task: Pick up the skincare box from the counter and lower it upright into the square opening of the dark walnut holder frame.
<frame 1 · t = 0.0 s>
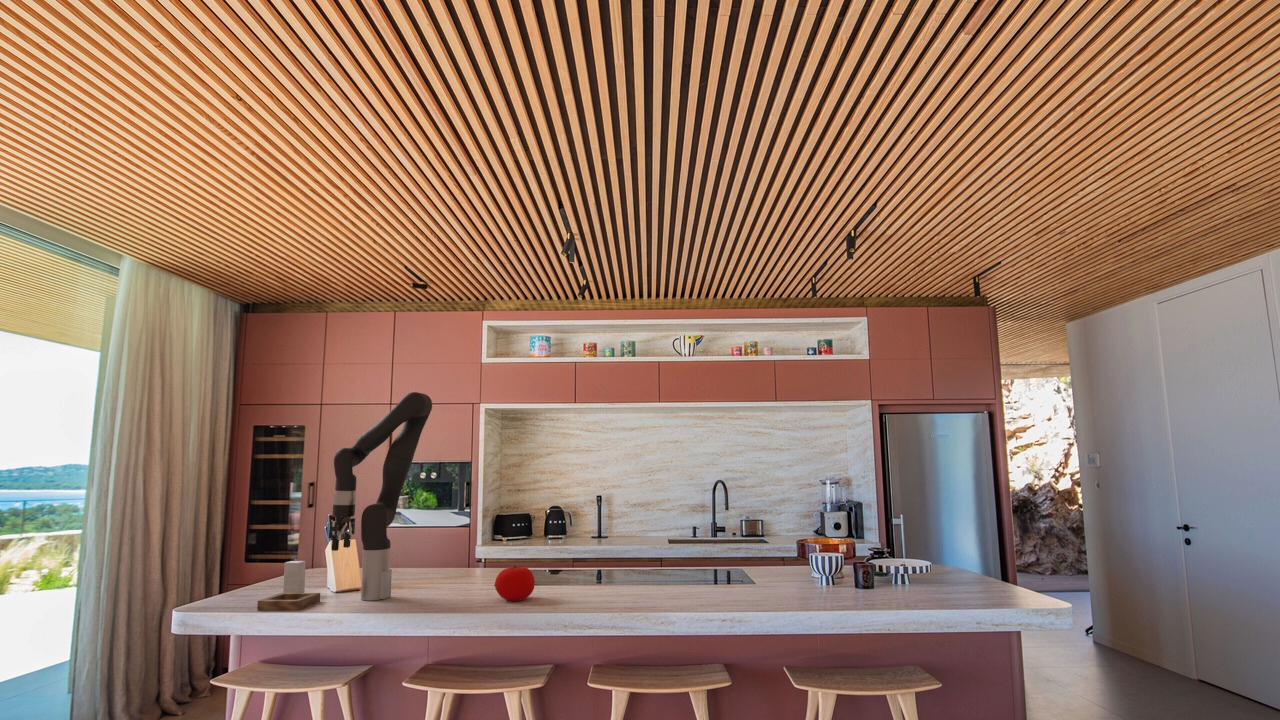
hand: (340, 548, 253), 17 cm above the countertop, tool pointing down, fingers open, 8 cm apart
tomato: (515, 600, 245), on the countertop
skincare box: (293, 595, 257), on the countertop
holder: (289, 605, 239), on the countertop
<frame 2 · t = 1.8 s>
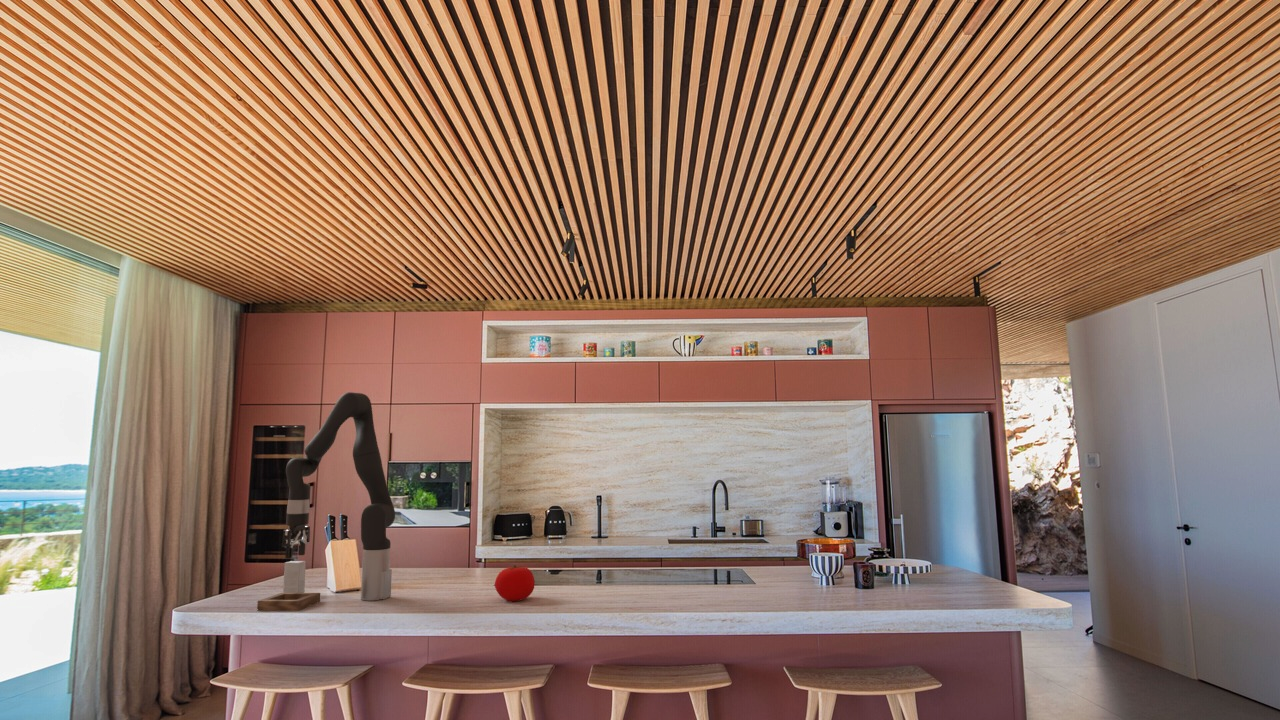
hand: (295, 556, 259), 14 cm above the countertop, tool pointing down, fingers open, 8 cm apart
nothing on the countertop moved.
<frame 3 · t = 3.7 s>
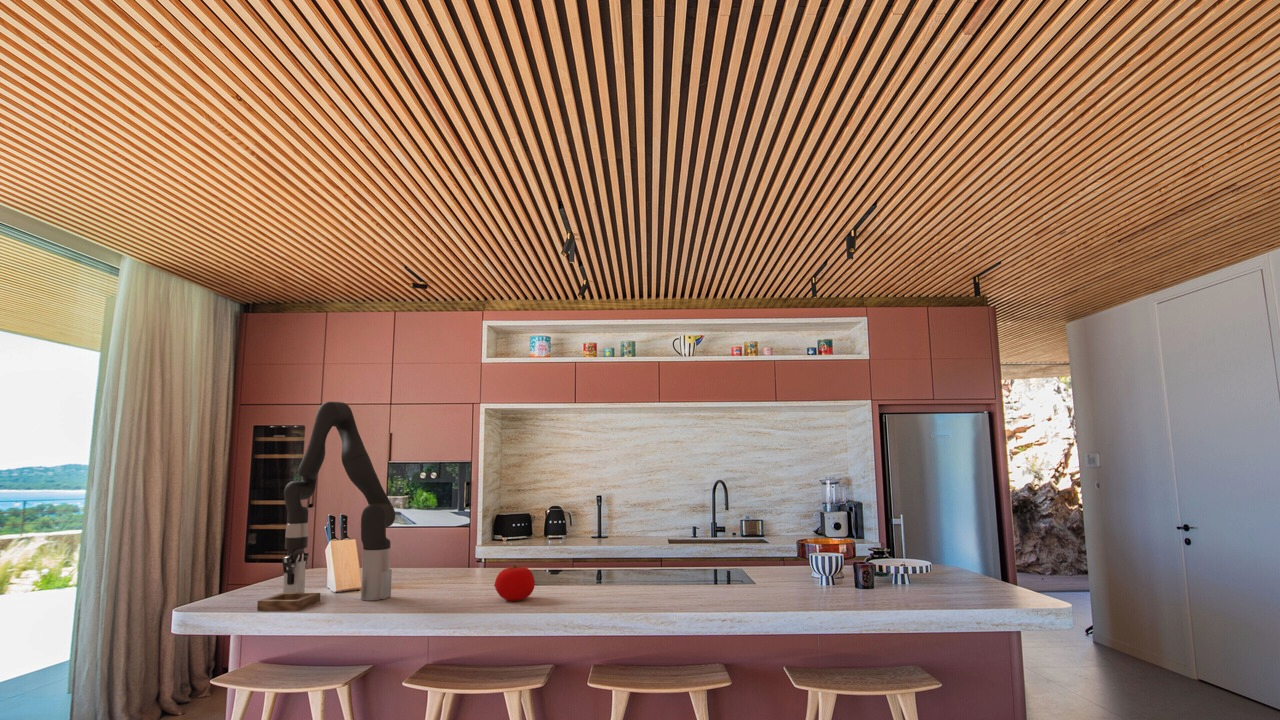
hand: (294, 583, 258), 4 cm above the countertop, tool pointing down, fingers closed on skincare box, 4 cm apart
skincare box: (293, 595, 257), on the countertop, touching gripper
everything else where it was.
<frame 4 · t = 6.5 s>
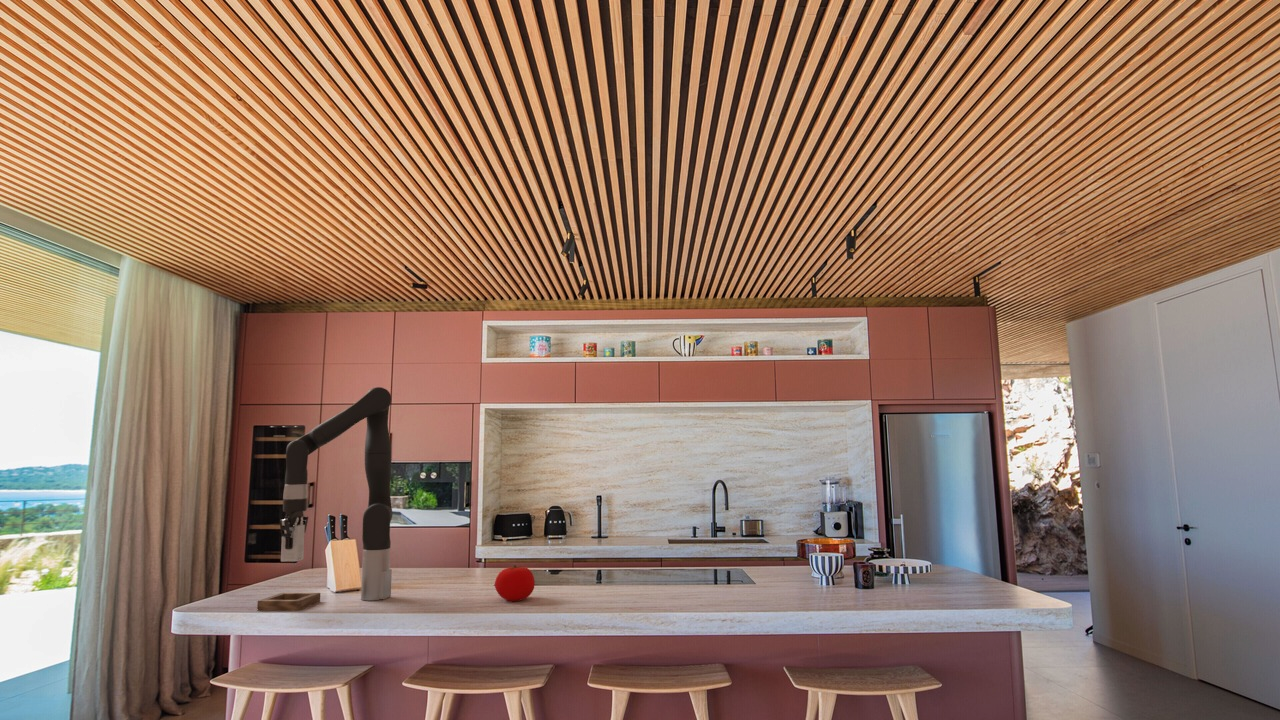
hand: (292, 547, 242), 19 cm above the countertop, tool pointing down, fingers closed on skincare box, 4 cm apart
skincare box: (292, 561, 241), point 15 cm above the countertop, touching gripper
everything else where it was.
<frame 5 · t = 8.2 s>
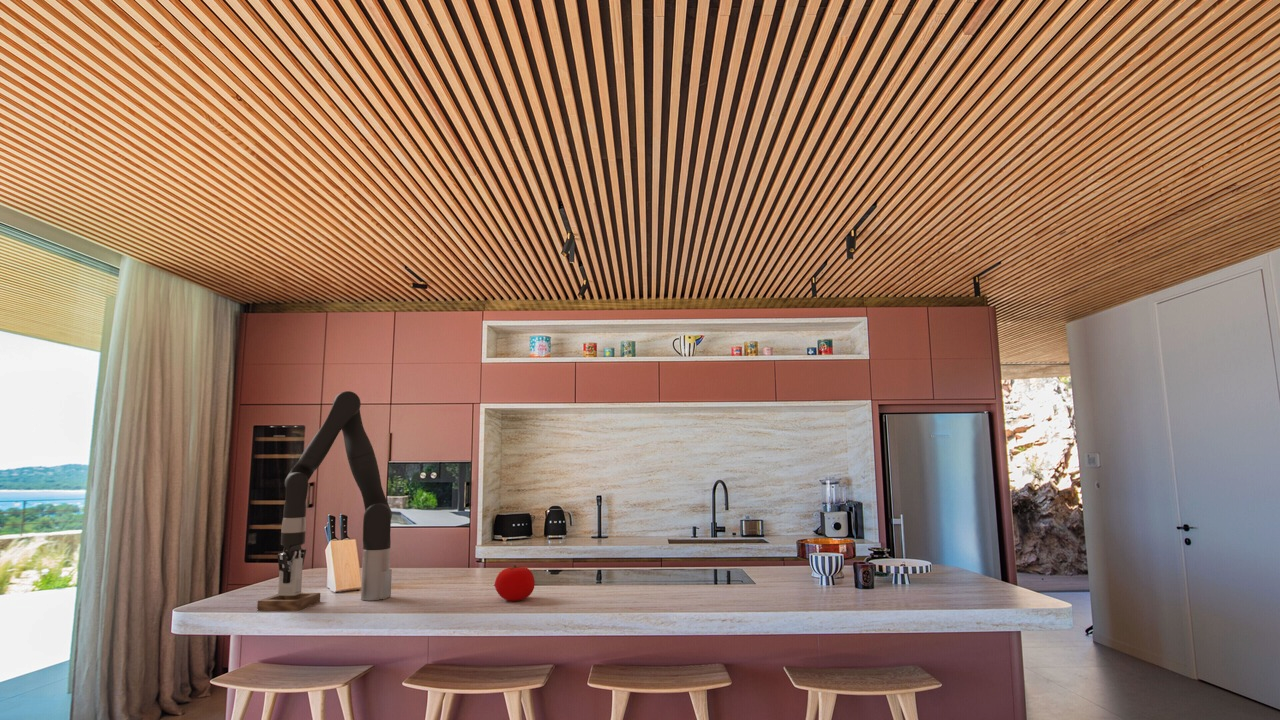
hand: (290, 581, 240), 8 cm above the countertop, tool pointing down, fingers closed on skincare box, 4 cm apart
skincare box: (289, 595, 239), point 3 cm above the countertop, touching gripper
everything else where it was.
when the fingers open (6 cm above the countertop, at t = 9.7 s): skincare box drops 1 cm, resting in holder.
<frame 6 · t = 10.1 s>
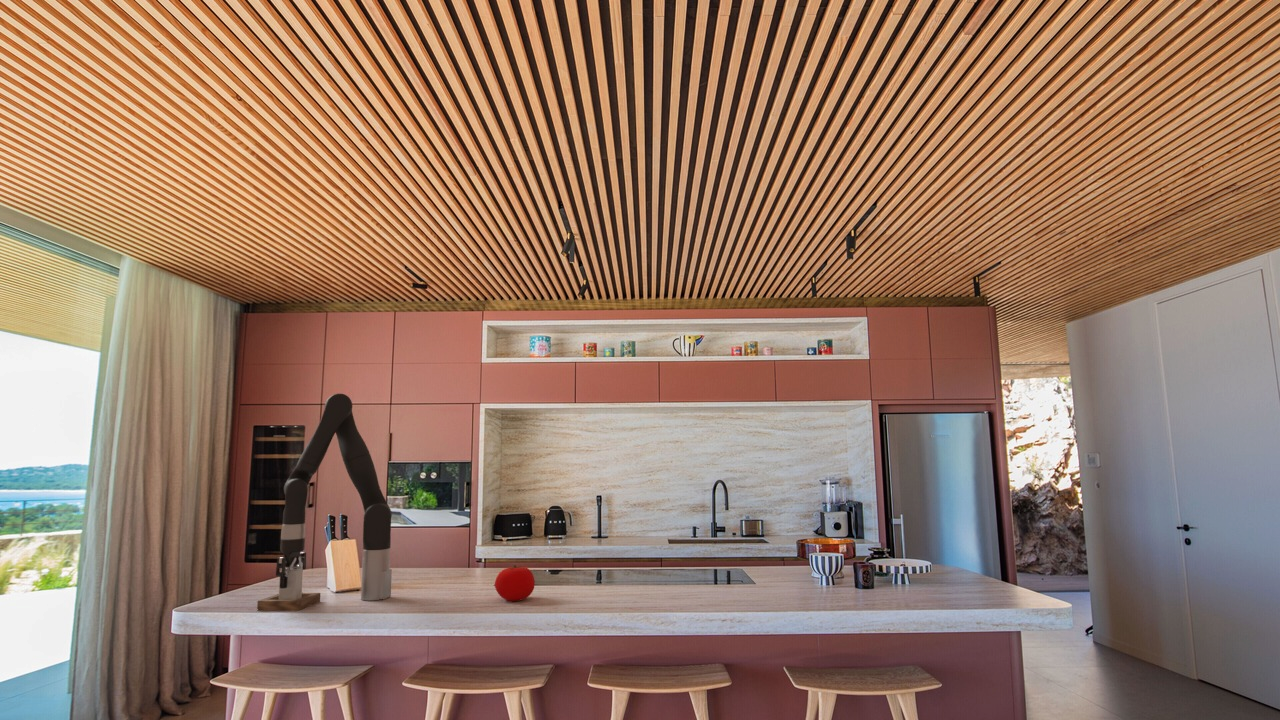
hand: (290, 585, 240), 7 cm above the countertop, tool pointing down, fingers open, 8 cm apart
skincare box: (289, 606, 239), resting in holder
everything else where it was.
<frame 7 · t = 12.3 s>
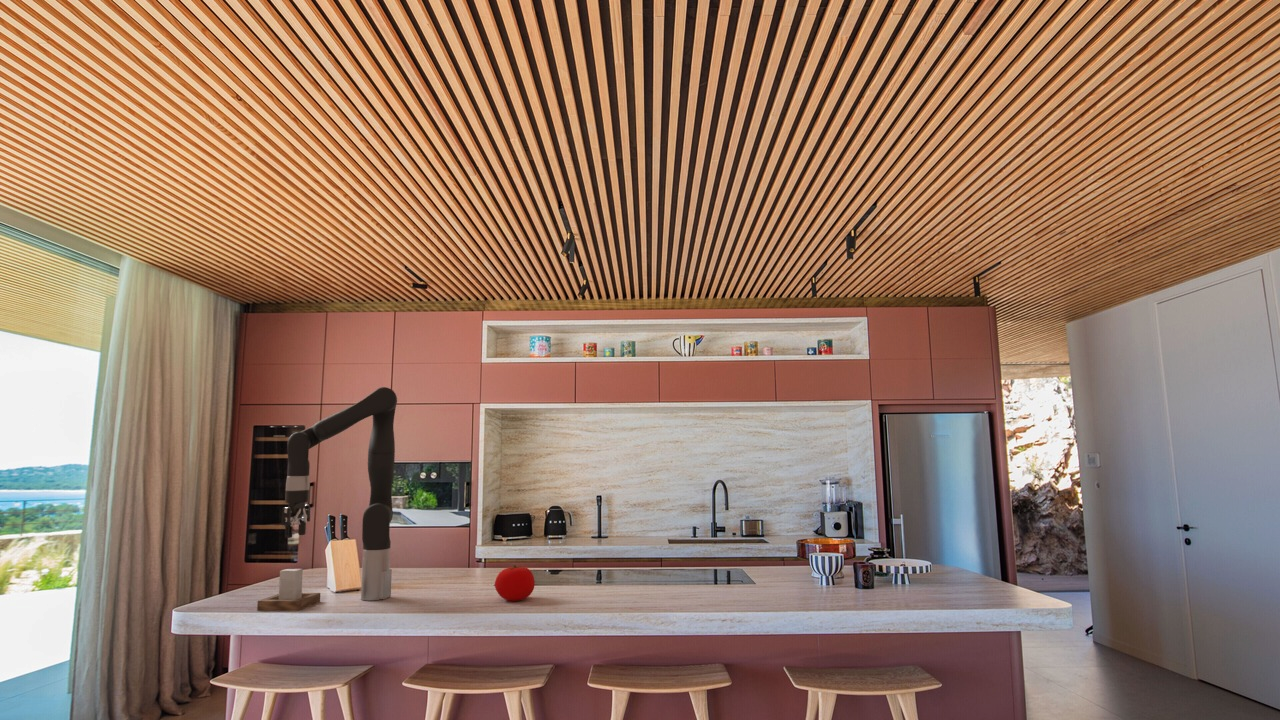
hand: (295, 536, 245), 23 cm above the countertop, tool pointing down, fingers open, 8 cm apart
nothing on the countertop moved.
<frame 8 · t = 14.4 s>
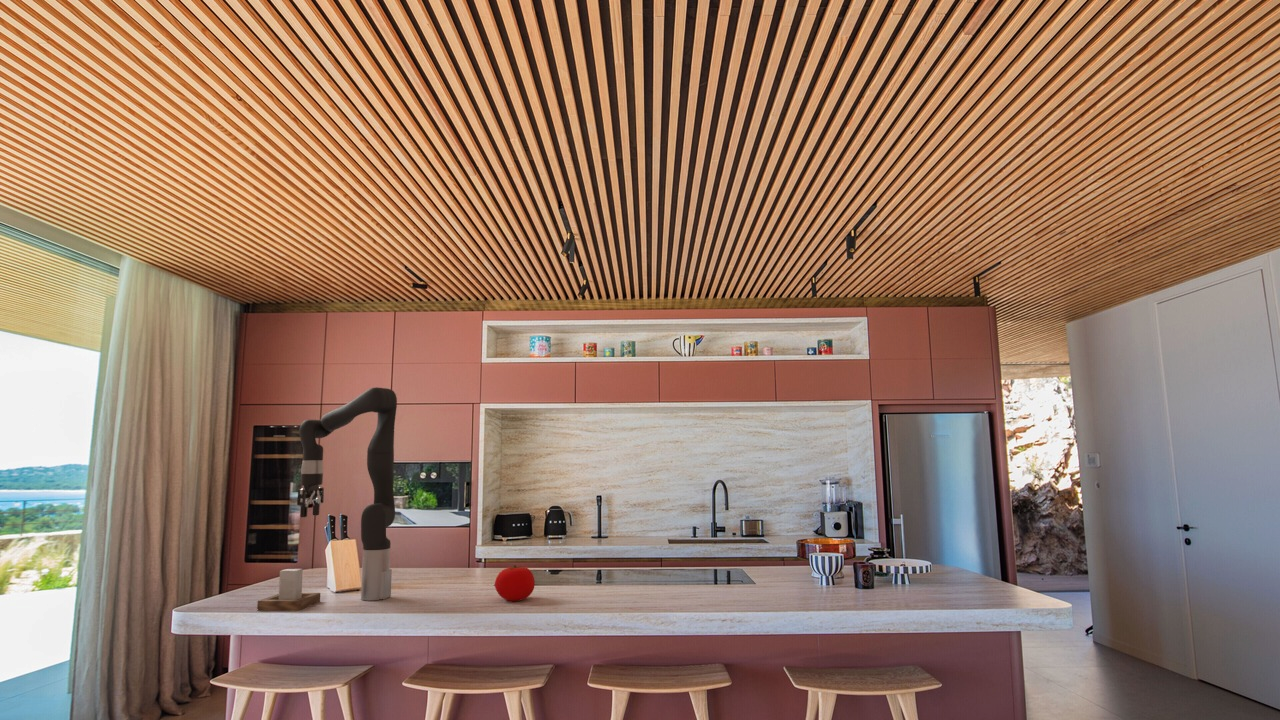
hand: (309, 516, 264), 28 cm above the countertop, tool pointing down, fingers open, 8 cm apart
nothing on the countertop moved.
at the end: skincare box 0.1 cm off-centre on the holder, point 0.0 cm above the holder's base; skincare box tilted 0°; the gripper is holding nothing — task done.
